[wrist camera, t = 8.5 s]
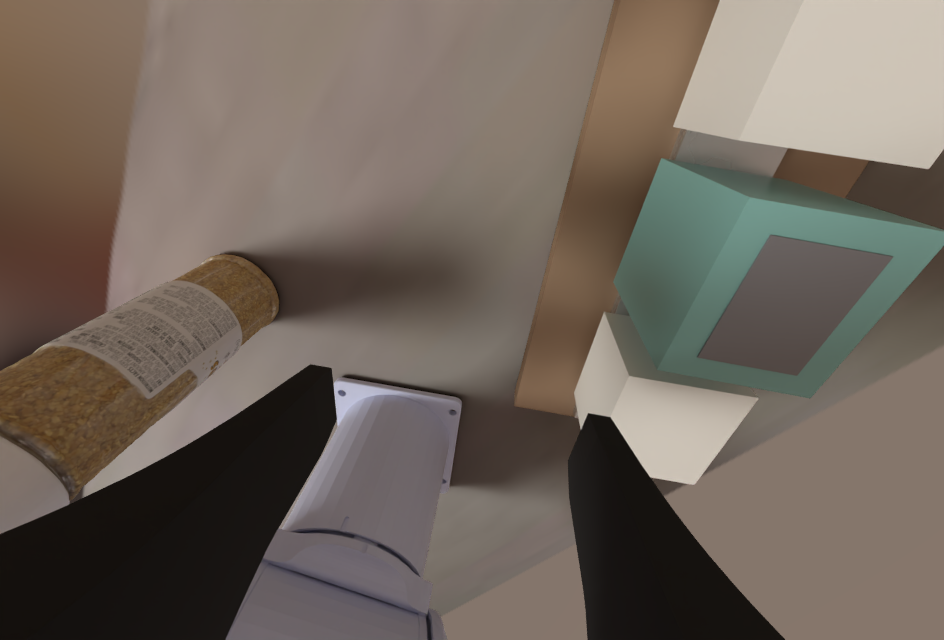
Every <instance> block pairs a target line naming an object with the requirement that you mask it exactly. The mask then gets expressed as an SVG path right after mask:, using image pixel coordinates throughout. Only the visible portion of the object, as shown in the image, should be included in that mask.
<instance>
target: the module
mask: <svg viewBox="0 0 944 640" xmlns="http://www.w3.org/2000/svg"><path fill="white" fill-rule="evenodd" d="M943 246H944V230H942V229H939V228H936V227H933V226H930V225H927V224H924V223H920V222H917V221H914V220H911V219H908V218H905V217H902V216H898V215H895V214H892V213H889V212H886V211H883V210H880V209H876V208H873V207H870V206H867V205H864V204H861V203H858V202H854V201H851V200H848V199H845V198H842V197H839V196H836V195H832V194H829V193H826V192H823V191H820V190H817V189H814V188H810V187H807V186H804V185H801V184H798V183H795V182H792V181H788V180H784V179H779V178H773V177H767V176H762V175H756V174H750V173H744V172H739V171H733V170H727V169H721V168H716V167H710V166H704V165H698V164H693V163H687V162H681V161H675V160H670V159H664V158H661V160H660V163H659V166H658V168H657V171H656V173H655V176H654V178H653V181H652V183H651V186H650V189H649V191H648V194H647V196H646V199H645V201H644V204H643V207H642V209H641V212H640V214H639V217H638V219H637V222H636V224H635V227H634V230H633V232H632V235H631V237H630V240H629V242H628V245H627V248H626V250H625V253H624V255H623V258H622V260H621V263H620V266H619V268H618V271H617V273H616V276H615V278H614V281H613V283H614V285H615V287H616V289H617V291H618V293H619V295H620V297H621V299H622V301H623V303H624V305H625V307H626V309H627V311H628V313H629V315H630V317H631V319H632V321H633V323H634V325H635V327H636V329H637V331H638V333H639V335H640V337H641V339H642V341H643V343H644V345H645V347H646V349H647V351H648V353H649V355H650V357H651V359H652V361H653V363H654V365H655V367H656V369H657V370H660V371H665V372H670V373H676V374H681V375H687V376H692V377H697V378H703V379H708V380H714V381H719V382H725V383H730V384H735V385H741V386H746V387H752V388H757V389H762V390H768V391H773V392H779V393H784V394H790V395H795V396H800V397H806V398H811V397H812V396H813V395H814V394H815V393H816V391H817V390H818V389H819V388H820V387H821V386H822V385H823V383H824V382H825V381H826V380H827V379H828V378H829V377H830V375H831V374H832V373H833V372H834V371H835V370H836V368H837V367H838V366H839V365H840V364H841V363H842V362H843V360H844V359H845V358H846V357H847V356H848V355H849V354H850V352H851V351H852V350H853V349H854V348H855V347H856V346H857V344H858V343H859V342H860V341H861V340H862V339H863V338H864V336H865V335H866V334H867V333H868V332H869V331H870V330H871V328H872V327H873V326H874V325H875V324H876V323H877V322H878V320H879V319H880V318H881V317H882V316H883V315H884V314H885V312H886V311H887V310H888V309H889V308H890V307H891V306H892V304H893V303H894V302H895V301H896V300H897V299H898V297H899V296H900V295H901V294H902V293H903V292H904V291H905V289H906V288H907V287H908V286H909V285H910V284H911V283H912V281H913V280H914V279H915V278H916V277H917V276H918V275H919V273H920V272H921V271H922V270H923V269H924V268H925V267H926V265H927V264H928V263H929V262H930V261H931V260H932V259H933V257H934V256H935V255H936V254H937V253H938V252H939V251H940V249H941V248H942V247H943Z"/></svg>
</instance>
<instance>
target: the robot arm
mask: <svg viewBox="0 0 944 640" xmlns="http://www.w3.org/2000/svg"><path fill="white" fill-rule="evenodd" d="M342 390H343V391H345V392H343V391H342ZM334 392H335V397H334ZM335 402H336V407H335ZM461 408H462V401H461V400H460V399H459V398H457V397H453V396H447V395H441V394H435V393H430V392H424V391H418V390H412V389H407V388H401V387H395V386H389V385H384V384H378V383H372V382H367V381H361V380H355V379H349V378H344V377H340V378H338V379H337V380H336V381H335V383H334V387H333V377H332V368H328V367H322V366H316V365H311V364H310V365H309V366H307V367H306V368H304V369H303V370H301V371H300V372H299V373H297V374H296V375H294V376H293V377H291V378H290V379H288V380H287V381H285V382H284V383H283V384H281V385H280V386H278V387H277V388H275V389H274V390H272V391H271V392H270V393H268V394H267V395H265V396H264V397H262V398H261V399H259V400H258V401H256V402H255V403H253V404H252V405H250V406H249V407H247V408H246V409H244V410H243V411H241V412H240V413H238V414H237V415H235V416H234V417H232V418H231V419H229V420H227V421H226V422H224V423H222V424H221V425H219V426H218V427H216V428H214V429H213V430H211V431H210V432H208V433H206V434H205V435H203V436H201V437H200V438H198V439H197V440H195V441H193V442H191V443H190V444H188V445H186V446H185V447H183V448H181V449H179V450H177V451H176V452H174V453H172V454H170V455H168V456H167V457H165V458H163V459H161V460H159V461H157V462H155V463H153V464H151V465H150V466H148V467H146V468H144V469H142V470H140V471H138V472H136V473H134V474H132V475H130V476H128V477H126V478H124V479H122V480H120V481H118V482H116V483H113V484H111V485H109V486H107V487H105V488H103V489H101V490H99V491H97V492H95V493H92V494H90V495H88V496H86V497H84V498H82V499H80V500H78V501H76V502H74V503H71V504H69V505H67V506H65V507H62V508H60V509H58V510H55V511H53V512H51V513H49V514H46V515H44V516H42V517H39V518H37V519H35V520H32V521H30V522H28V523H25V524H23V525H20V526H18V527H16V528H13V529H11V530H8V531H6V532H4V533H1V534H0V640H447V636H446V634H445V631H444V626H443V622H442V619H441V616H440V615H439V613H438V612H437V611H436V610H433V609H430V608H429V603H430V598H431V592H432V586H433V584H432V582H430V581H427V580H425V579H423V573H424V568H425V563H426V558H427V553H428V548H429V543H430V538H431V533H432V529H433V524H434V519H435V514H436V509H437V504H438V499H439V494H440V493H446V492H448V490H449V485H450V478H451V472H452V465H453V459H454V453H455V446H456V440H457V433H458V427H459V421H460V414H461ZM452 410H455V411H452ZM336 412H337V416H336ZM336 420H337V423H338V428H337V430H336V431H335V433H334V435H333V437H332V439H331V441H330V442H329V444H328V446H327V448H326V450H325V451H324V453H323V455H322V457H321V459H320V461H319V462H318V464H317V466H316V468H315V470H314V472H313V473H312V475H311V477H310V479H309V481H308V482H307V484H306V486H305V488H304V490H303V492H302V493H301V495H300V497H299V499H298V501H297V502H296V504H295V506H294V508H293V510H292V512H291V513H290V515H289V517H288V519H287V521H286V523H285V524H284V526H283V528H282V529H278V528H279V526H280V525H281V523H282V521H283V519H284V518H285V516H286V514H287V513H288V511H289V509H290V507H291V506H292V504H293V502H294V501H295V499H296V497H297V496H298V494H299V492H300V490H301V489H302V487H303V485H304V484H305V482H306V480H307V478H308V477H309V475H310V473H311V472H312V470H313V468H314V466H315V465H316V463H317V461H318V459H319V458H320V456H321V454H322V452H323V450H324V448H325V446H326V443H327V441H328V439H329V437H330V434H331V432H332V429H333V427H334V425H335V422H336ZM568 477H569V498H570V505H571V512H572V519H573V526H574V532H575V539H576V545H577V552H578V558H579V564H580V571H581V577H582V584H583V591H584V599H585V608H586V621H587V636H588V640H785V639H784V638H783V637H782V636H781V635H780V634H779V633H778V632H777V631H776V630H775V628H774V627H773V626H772V625H771V624H770V623H769V622H768V621H767V620H766V619H765V618H764V617H763V616H762V615H761V614H760V613H759V612H758V610H757V609H756V608H755V607H754V606H753V605H752V604H751V603H750V602H749V601H748V600H747V599H746V597H745V596H744V595H743V594H742V593H741V592H740V591H739V590H738V589H737V587H736V586H735V585H734V584H733V583H732V582H731V581H730V580H729V578H728V577H727V576H726V575H725V574H724V572H723V571H722V570H721V569H720V568H719V567H718V565H717V564H716V563H715V562H714V561H713V560H712V558H711V557H710V556H709V555H708V554H707V553H706V551H705V550H704V549H703V548H702V546H701V545H700V544H699V543H698V542H697V540H696V539H695V538H694V536H693V535H692V534H691V533H690V531H689V530H688V529H687V527H686V526H685V525H684V524H683V522H682V521H681V519H680V518H679V517H678V516H677V514H676V513H675V512H674V510H673V509H672V508H671V506H670V505H669V503H668V502H667V501H666V499H665V498H664V496H663V495H662V494H661V492H660V491H659V489H658V488H657V486H656V485H655V484H654V482H653V481H652V479H651V478H650V476H649V475H648V473H647V472H646V471H645V469H644V468H643V466H642V465H641V463H640V462H639V460H638V459H637V457H636V455H635V454H634V452H633V451H632V449H631V448H630V446H629V445H628V443H627V442H626V440H625V439H624V437H623V435H622V434H621V432H620V431H619V429H618V428H617V426H616V425H615V423H614V422H613V420H612V419H611V417H608V416H602V415H596V414H591V413H588V414H587V417H586V419H585V421H584V424H583V426H582V429H581V431H580V433H579V436H578V438H577V441H576V443H575V445H574V448H573V450H572V452H571V455H570V457H569V460H568Z"/></svg>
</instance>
